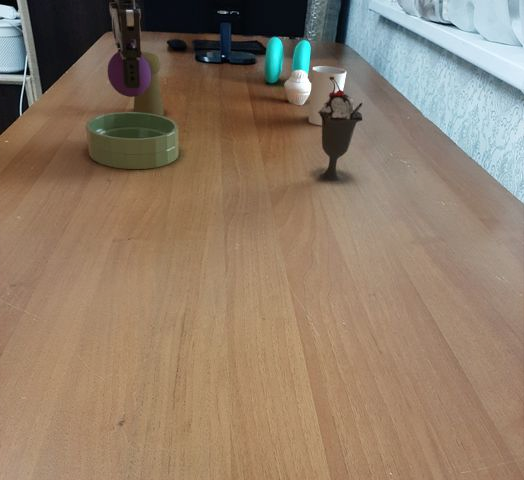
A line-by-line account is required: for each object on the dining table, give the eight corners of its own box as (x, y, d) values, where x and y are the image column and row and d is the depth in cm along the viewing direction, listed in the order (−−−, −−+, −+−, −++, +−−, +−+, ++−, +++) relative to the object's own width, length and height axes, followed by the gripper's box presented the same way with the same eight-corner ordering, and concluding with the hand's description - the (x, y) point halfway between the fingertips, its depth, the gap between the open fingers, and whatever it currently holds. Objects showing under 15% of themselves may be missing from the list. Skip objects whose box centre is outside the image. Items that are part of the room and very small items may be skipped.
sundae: (302, 172, 93) (314, 72, 84) (339, 170, 95) (354, 72, 86) (319, 188, 88) (334, 84, 79) (358, 185, 90) (376, 83, 81)
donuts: (303, 91, 135) (308, 44, 129) (262, 86, 136) (265, 39, 130) (307, 82, 143) (312, 37, 137) (268, 77, 144) (271, 33, 138)
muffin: (279, 104, 125) (282, 69, 120) (287, 98, 129) (290, 64, 125) (306, 108, 123) (310, 73, 119) (313, 102, 128) (317, 68, 124)
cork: (167, 119, 110) (165, 56, 104) (136, 120, 108) (132, 56, 102) (160, 110, 115) (158, 49, 108) (130, 111, 113) (126, 49, 106)
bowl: (124, 179, 85) (121, 145, 82) (72, 152, 93) (68, 120, 90) (196, 160, 94) (196, 129, 91) (143, 136, 101) (141, 107, 98)
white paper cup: (334, 130, 112) (342, 75, 106) (302, 125, 114) (308, 70, 108) (341, 122, 117) (349, 69, 111) (310, 116, 119) (317, 64, 113)
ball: (126, 104, 84) (122, 56, 80) (101, 94, 87) (96, 47, 83) (160, 98, 88) (158, 52, 84) (135, 88, 91) (132, 44, 87)
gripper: (88, -59, 80) (100, 70, 91) (95, -51, 70) (108, 94, 80) (142, -55, 82) (148, 70, 93) (156, -47, 72) (161, 94, 82)
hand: (129, 81), depth 86 cm, fingers closed on ball, 6 cm apart
